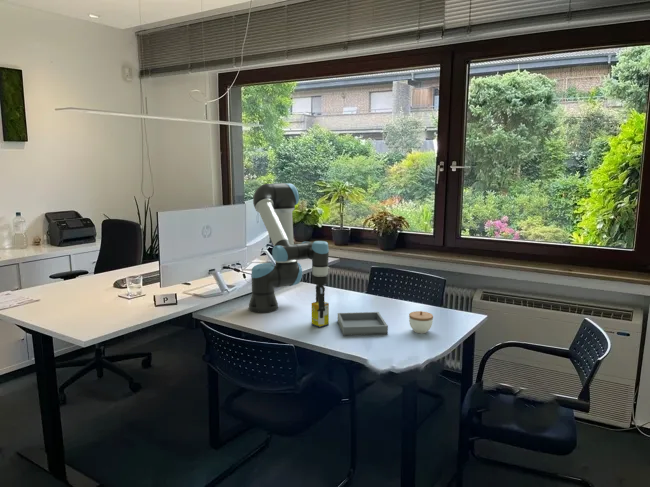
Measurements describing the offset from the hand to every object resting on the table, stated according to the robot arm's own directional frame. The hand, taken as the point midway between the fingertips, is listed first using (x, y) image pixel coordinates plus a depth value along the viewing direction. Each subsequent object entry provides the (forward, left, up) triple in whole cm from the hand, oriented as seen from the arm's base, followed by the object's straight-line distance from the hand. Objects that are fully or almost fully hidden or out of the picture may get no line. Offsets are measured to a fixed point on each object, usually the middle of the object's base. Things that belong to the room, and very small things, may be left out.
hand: (320, 319), depth 231 cm
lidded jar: (+12, +45, -3) cm, 47 cm away
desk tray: (+5, +19, -3) cm, 20 cm away
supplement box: (0, 0, -3) cm, 3 cm away
